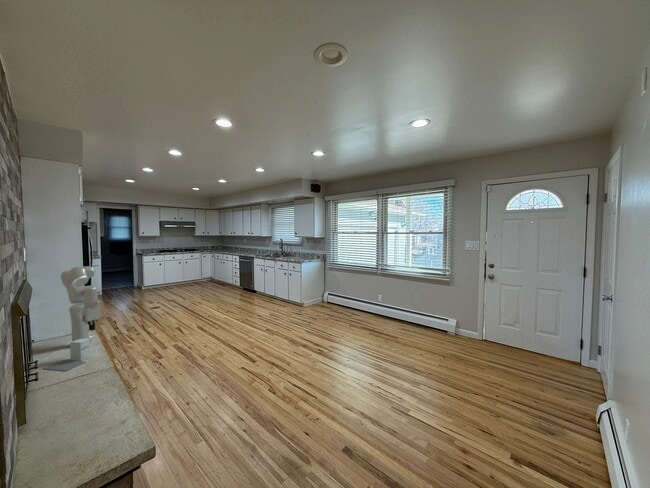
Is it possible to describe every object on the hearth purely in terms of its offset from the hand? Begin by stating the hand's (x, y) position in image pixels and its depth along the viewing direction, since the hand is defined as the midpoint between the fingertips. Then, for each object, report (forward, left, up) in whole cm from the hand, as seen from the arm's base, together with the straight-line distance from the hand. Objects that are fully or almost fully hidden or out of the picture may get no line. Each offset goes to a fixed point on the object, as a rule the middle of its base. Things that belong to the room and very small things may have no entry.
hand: (92, 329), depth 198 cm
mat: (+19, 0, -17) cm, 25 cm away
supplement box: (+8, -1, -17) cm, 19 cm away
